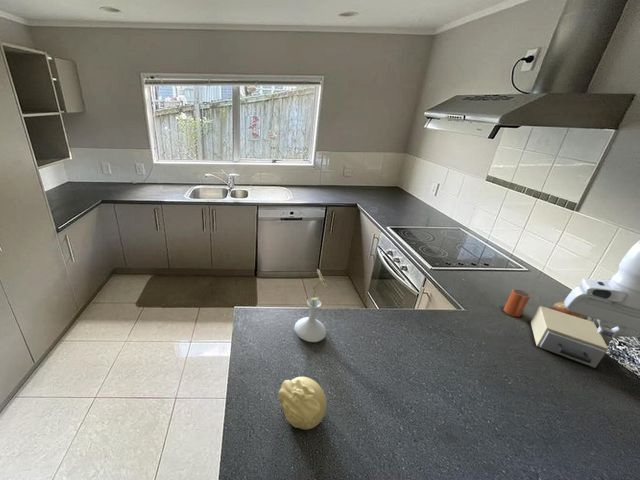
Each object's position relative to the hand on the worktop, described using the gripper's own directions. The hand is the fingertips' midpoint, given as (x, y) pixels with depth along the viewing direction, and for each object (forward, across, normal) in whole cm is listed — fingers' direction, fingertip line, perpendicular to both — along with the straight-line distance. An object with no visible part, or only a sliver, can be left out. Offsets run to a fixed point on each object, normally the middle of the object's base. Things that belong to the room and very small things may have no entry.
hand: (604, 334), depth 81 cm
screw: (+19, -9, -34) cm, 40 cm away
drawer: (+18, 0, -16) cm, 24 cm away
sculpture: (+18, +63, +64) cm, 92 cm away
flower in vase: (+18, +75, +35) cm, 85 cm away
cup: (+19, +13, -30) cm, 38 cm away
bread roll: (+19, -6, -42) cm, 47 cm away
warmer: (+19, 0, -19) cm, 27 cm away
